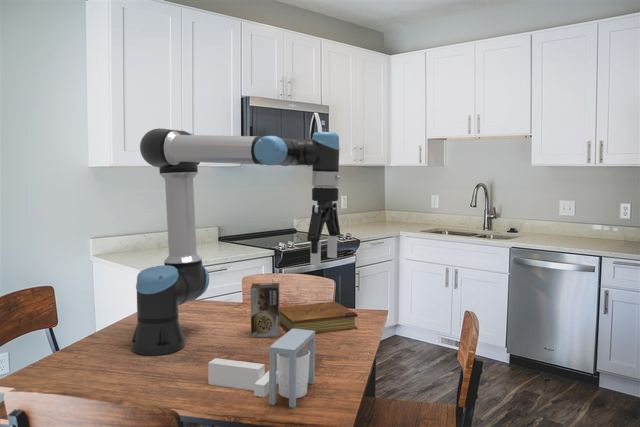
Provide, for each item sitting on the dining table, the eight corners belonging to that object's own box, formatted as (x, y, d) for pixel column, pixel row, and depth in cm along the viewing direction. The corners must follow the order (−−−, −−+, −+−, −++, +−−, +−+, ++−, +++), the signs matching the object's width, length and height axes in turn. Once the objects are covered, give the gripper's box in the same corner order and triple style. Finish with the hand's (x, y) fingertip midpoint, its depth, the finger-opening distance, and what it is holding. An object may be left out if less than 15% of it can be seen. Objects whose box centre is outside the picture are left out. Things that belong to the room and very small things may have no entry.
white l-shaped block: (202, 388, 129) (202, 366, 129) (220, 375, 138) (220, 354, 137) (264, 397, 124) (264, 374, 124) (278, 383, 133) (278, 361, 132)
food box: (280, 331, 176) (280, 282, 174) (279, 337, 169) (279, 287, 168) (252, 331, 175) (252, 282, 174) (250, 337, 169) (250, 286, 167)
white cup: (279, 401, 122) (280, 359, 121) (273, 388, 130) (273, 347, 129) (313, 398, 124) (313, 356, 123) (305, 384, 132) (305, 345, 131)
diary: (334, 316, 196) (334, 301, 195) (357, 331, 179) (357, 314, 178) (274, 322, 187) (274, 306, 187) (292, 338, 170) (292, 320, 169)
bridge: (269, 404, 121) (269, 347, 120) (292, 379, 135) (292, 328, 134) (294, 407, 119) (294, 350, 118) (314, 382, 133) (315, 330, 132)
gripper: (322, 188, 139) (320, 269, 141) (351, 186, 162) (349, 255, 164) (295, 187, 141) (294, 267, 143) (327, 185, 165) (326, 253, 166)
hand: (324, 261), depth 153 cm, fingers open, 13 cm apart
